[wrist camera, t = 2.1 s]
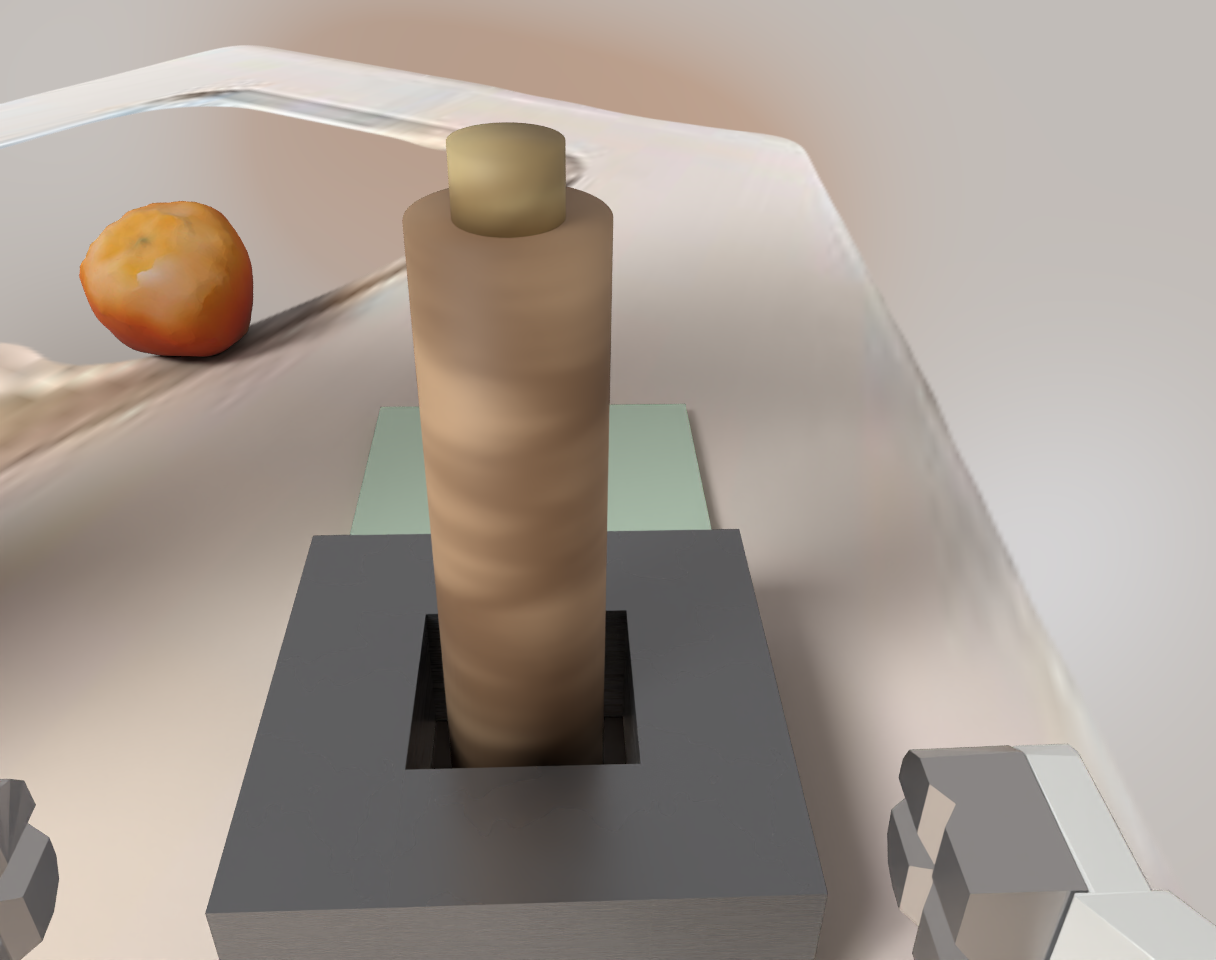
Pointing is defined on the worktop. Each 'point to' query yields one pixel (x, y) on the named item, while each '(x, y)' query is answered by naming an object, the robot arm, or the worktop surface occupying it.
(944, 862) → the robot arm
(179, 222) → the fruit
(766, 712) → the housing
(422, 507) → the mat
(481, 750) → the bottle
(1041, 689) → the worktop surface
